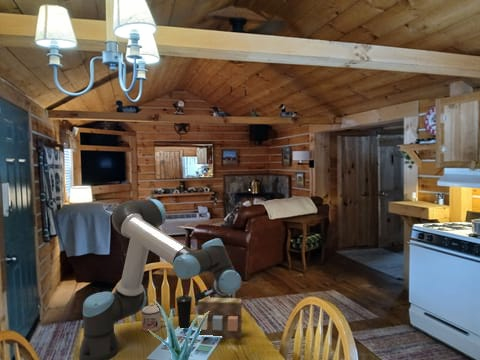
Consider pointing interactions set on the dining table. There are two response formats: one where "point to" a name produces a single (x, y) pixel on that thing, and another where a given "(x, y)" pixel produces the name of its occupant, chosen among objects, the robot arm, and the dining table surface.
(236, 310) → the button console
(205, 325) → the ivory button
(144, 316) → the teacup with lid
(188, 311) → the drinking cup
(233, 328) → the terracotta button
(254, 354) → the dining table surface
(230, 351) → the dining table surface
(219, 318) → the slate button
